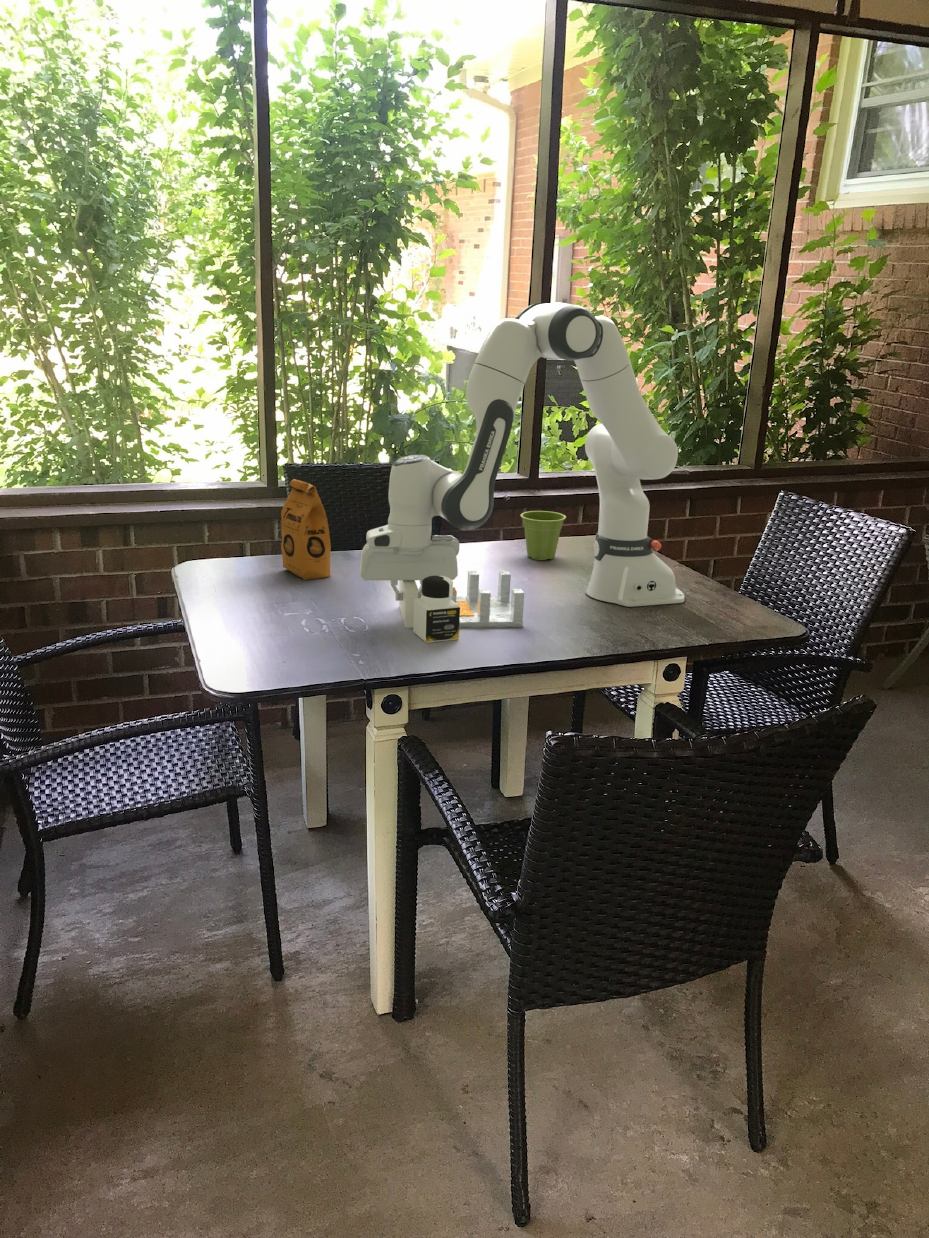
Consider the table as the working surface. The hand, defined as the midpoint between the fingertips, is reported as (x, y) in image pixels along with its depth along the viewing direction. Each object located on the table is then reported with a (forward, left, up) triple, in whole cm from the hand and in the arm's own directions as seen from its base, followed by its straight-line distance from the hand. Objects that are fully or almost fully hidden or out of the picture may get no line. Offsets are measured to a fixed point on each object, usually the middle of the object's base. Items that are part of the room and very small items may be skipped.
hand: (408, 599), depth 202 cm
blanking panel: (0, 0, -4) cm, 4 cm away
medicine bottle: (-4, +13, -4) cm, 14 cm away
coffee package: (+21, -34, -4) cm, 40 cm away
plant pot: (-40, -49, -4) cm, 63 cm away
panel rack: (-15, -1, -4) cm, 15 cm away
